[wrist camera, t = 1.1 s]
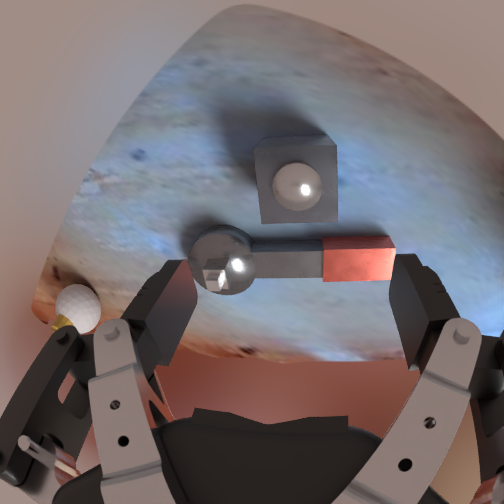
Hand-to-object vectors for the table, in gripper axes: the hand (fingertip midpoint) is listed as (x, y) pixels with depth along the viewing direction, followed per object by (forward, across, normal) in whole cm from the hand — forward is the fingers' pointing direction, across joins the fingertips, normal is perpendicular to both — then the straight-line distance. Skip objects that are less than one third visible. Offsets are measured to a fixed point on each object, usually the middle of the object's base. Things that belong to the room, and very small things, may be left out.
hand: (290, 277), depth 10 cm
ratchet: (+16, +1, +9) cm, 18 cm away
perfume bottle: (+16, +32, +16) cm, 39 cm away
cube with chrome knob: (+16, 0, 0) cm, 16 cm away
